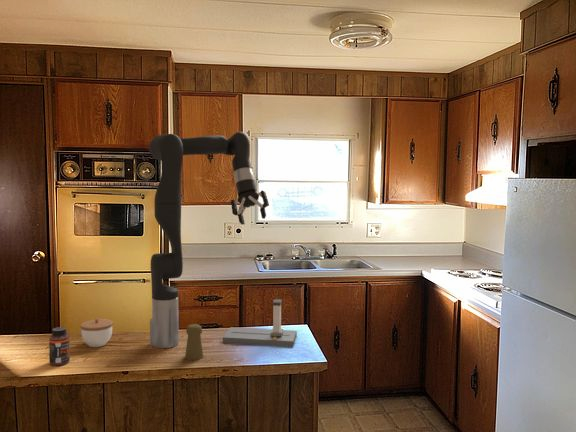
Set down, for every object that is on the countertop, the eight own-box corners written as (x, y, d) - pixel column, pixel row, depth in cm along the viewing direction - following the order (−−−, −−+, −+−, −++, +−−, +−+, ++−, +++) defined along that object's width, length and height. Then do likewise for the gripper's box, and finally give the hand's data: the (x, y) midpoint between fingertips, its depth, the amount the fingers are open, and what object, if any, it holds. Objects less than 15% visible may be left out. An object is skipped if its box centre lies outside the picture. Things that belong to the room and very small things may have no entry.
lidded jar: (114, 338, 179) (113, 313, 178) (111, 348, 169) (111, 322, 168) (83, 340, 176) (82, 315, 175) (78, 350, 166) (78, 324, 165)
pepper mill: (199, 361, 158) (199, 328, 157) (182, 359, 160) (182, 327, 159) (206, 354, 164) (206, 323, 163) (189, 352, 165) (189, 321, 165)
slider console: (222, 342, 176) (222, 336, 176) (230, 332, 188) (230, 326, 188) (293, 346, 173) (293, 340, 173) (296, 335, 185) (296, 330, 185)
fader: (270, 335, 177) (271, 302, 176) (272, 331, 182) (273, 298, 181) (281, 336, 177) (281, 302, 176) (283, 332, 182) (283, 299, 181)
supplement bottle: (62, 367, 152) (62, 332, 151) (45, 365, 152) (44, 331, 151) (73, 360, 157) (72, 326, 157) (56, 358, 158) (55, 325, 157)
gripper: (224, 184, 184) (232, 224, 180) (258, 173, 181) (267, 214, 177) (232, 189, 191) (239, 227, 187) (265, 179, 188) (273, 218, 184)
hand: (253, 221), depth 182 cm, fingers open, 8 cm apart
